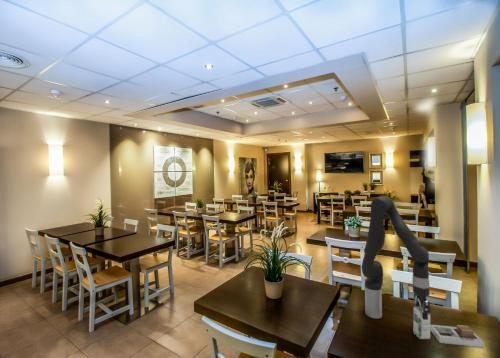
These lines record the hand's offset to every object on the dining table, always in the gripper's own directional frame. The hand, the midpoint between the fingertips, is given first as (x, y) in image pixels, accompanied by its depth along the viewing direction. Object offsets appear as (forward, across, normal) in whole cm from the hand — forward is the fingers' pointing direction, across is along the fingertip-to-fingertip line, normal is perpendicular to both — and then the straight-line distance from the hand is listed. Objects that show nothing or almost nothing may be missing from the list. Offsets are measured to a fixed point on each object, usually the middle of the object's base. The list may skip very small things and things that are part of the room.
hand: (421, 314), depth 135 cm
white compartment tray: (+12, -2, +16) cm, 20 cm away
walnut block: (+12, -2, +20) cm, 24 cm away
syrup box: (+12, -1, 0) cm, 12 cm away
